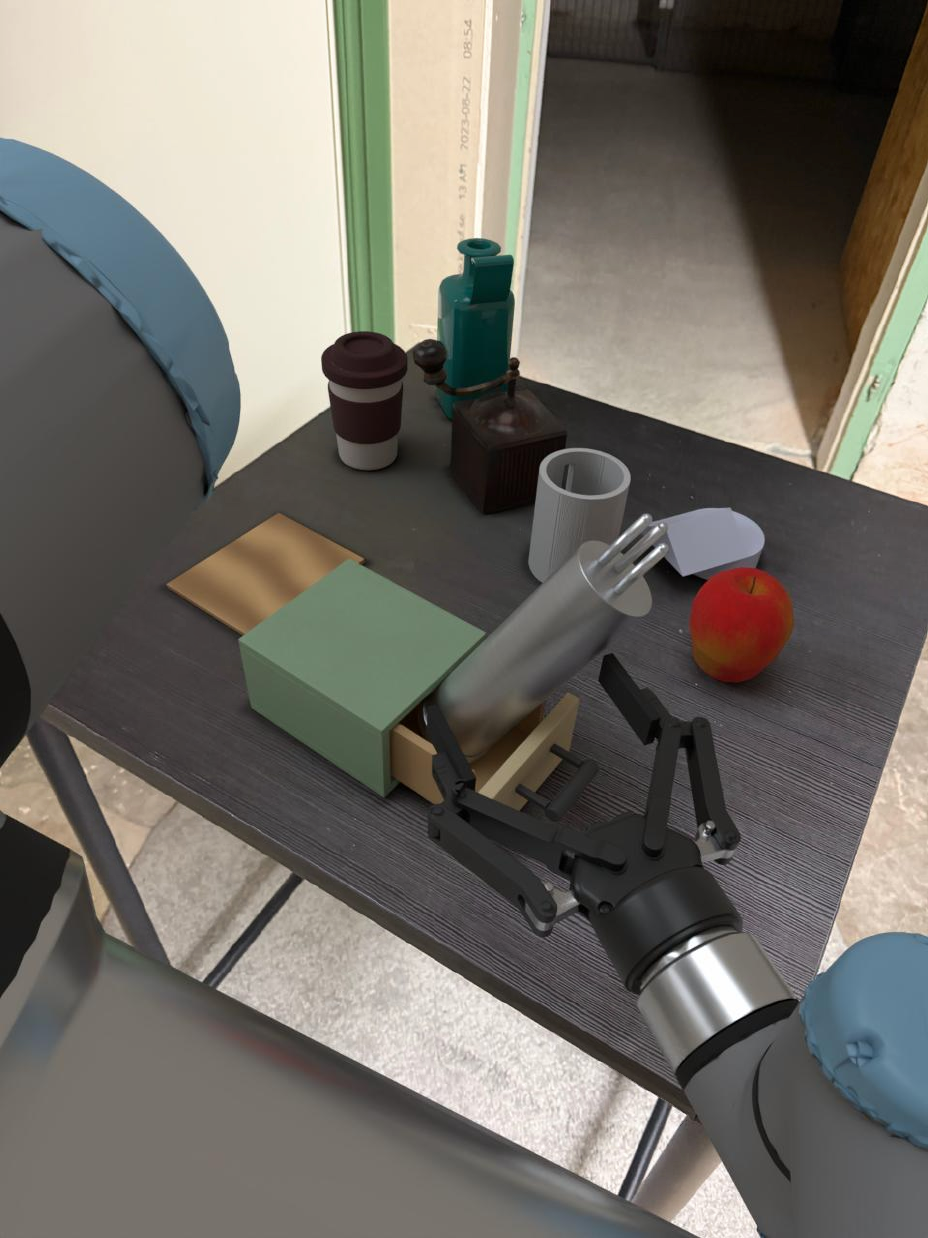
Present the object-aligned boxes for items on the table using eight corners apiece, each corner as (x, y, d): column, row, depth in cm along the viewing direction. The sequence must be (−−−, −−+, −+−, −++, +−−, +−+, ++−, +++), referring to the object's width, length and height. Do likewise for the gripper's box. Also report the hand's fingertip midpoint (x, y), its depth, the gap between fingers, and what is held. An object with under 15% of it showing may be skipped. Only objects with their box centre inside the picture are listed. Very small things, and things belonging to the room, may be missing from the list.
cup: (576, 604, 91) (593, 511, 82) (511, 563, 95) (521, 471, 87) (627, 565, 95) (648, 474, 87) (563, 528, 100) (577, 438, 92)
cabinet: (481, 700, 80) (486, 632, 74) (384, 798, 72) (381, 731, 66) (353, 625, 87) (349, 557, 81) (251, 707, 79) (237, 639, 72)
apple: (755, 719, 80) (795, 625, 72) (663, 681, 83) (690, 587, 75) (780, 657, 86) (820, 564, 78) (693, 624, 89) (722, 531, 81)
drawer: (611, 775, 74) (625, 723, 69) (530, 882, 66) (539, 831, 61) (437, 673, 81) (438, 620, 77) (345, 758, 74) (341, 705, 69)
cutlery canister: (454, 778, 70) (680, 587, 54) (401, 709, 71) (607, 502, 55) (500, 743, 75) (718, 560, 59) (450, 680, 76) (651, 484, 60)
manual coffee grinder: (520, 450, 111) (533, 315, 99) (561, 497, 104) (581, 358, 92) (407, 474, 106) (406, 335, 94) (442, 526, 99) (446, 382, 87)
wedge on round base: (676, 600, 92) (773, 570, 96) (690, 551, 87) (791, 521, 91) (629, 550, 97) (723, 524, 102) (640, 501, 93) (737, 476, 97)
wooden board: (255, 644, 84) (254, 640, 84) (167, 588, 90) (166, 583, 89) (364, 562, 94) (364, 558, 94) (279, 516, 99) (278, 512, 99)
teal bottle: (432, 394, 121) (435, 231, 106) (489, 387, 123) (500, 226, 108) (453, 430, 114) (460, 262, 99) (513, 422, 116) (529, 256, 101)
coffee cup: (377, 426, 114) (374, 316, 104) (423, 460, 109) (425, 348, 98) (313, 451, 109) (303, 338, 99) (358, 487, 104) (352, 372, 94)
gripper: (478, 1081, 46) (355, 776, 60) (845, 917, 54) (660, 681, 68) (486, 1024, 41) (349, 705, 55) (891, 852, 49) (681, 610, 63)
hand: (521, 691), depth 61 cm, fingers open, 13 cm apart
